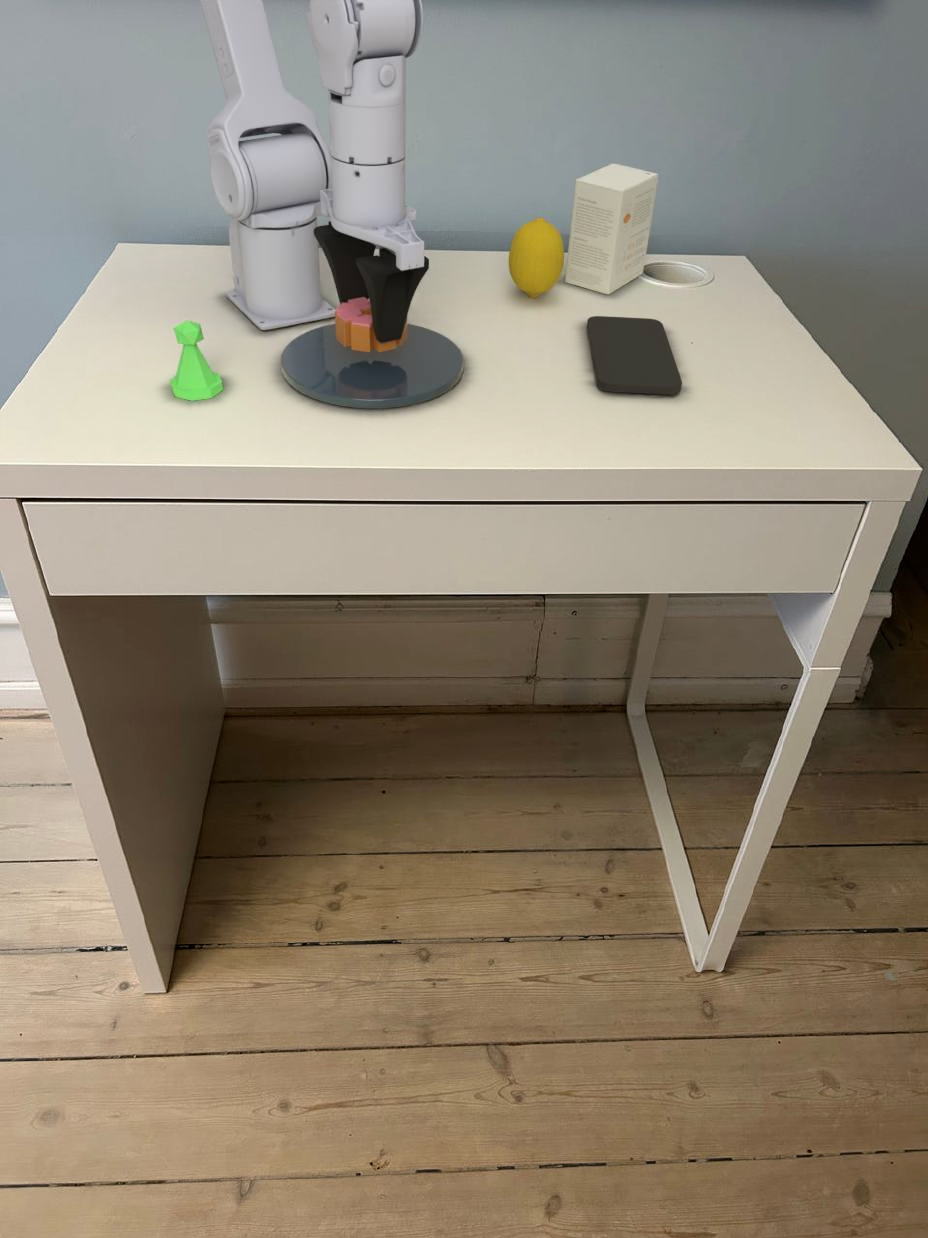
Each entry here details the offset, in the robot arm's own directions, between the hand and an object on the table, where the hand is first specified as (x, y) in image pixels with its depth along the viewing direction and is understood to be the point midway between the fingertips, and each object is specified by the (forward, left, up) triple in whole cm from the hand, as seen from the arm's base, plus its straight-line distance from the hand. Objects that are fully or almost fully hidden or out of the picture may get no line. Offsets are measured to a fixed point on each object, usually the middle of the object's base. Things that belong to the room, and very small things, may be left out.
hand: (371, 324), depth 82 cm
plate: (0, 0, -4) cm, 4 cm away
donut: (0, 0, -1) cm, 1 cm away
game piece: (-3, -15, -4) cm, 16 cm away
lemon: (-7, +22, -4) cm, 23 cm away
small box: (-8, +32, -4) cm, 33 cm away
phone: (+9, +22, -4) cm, 24 cm away
